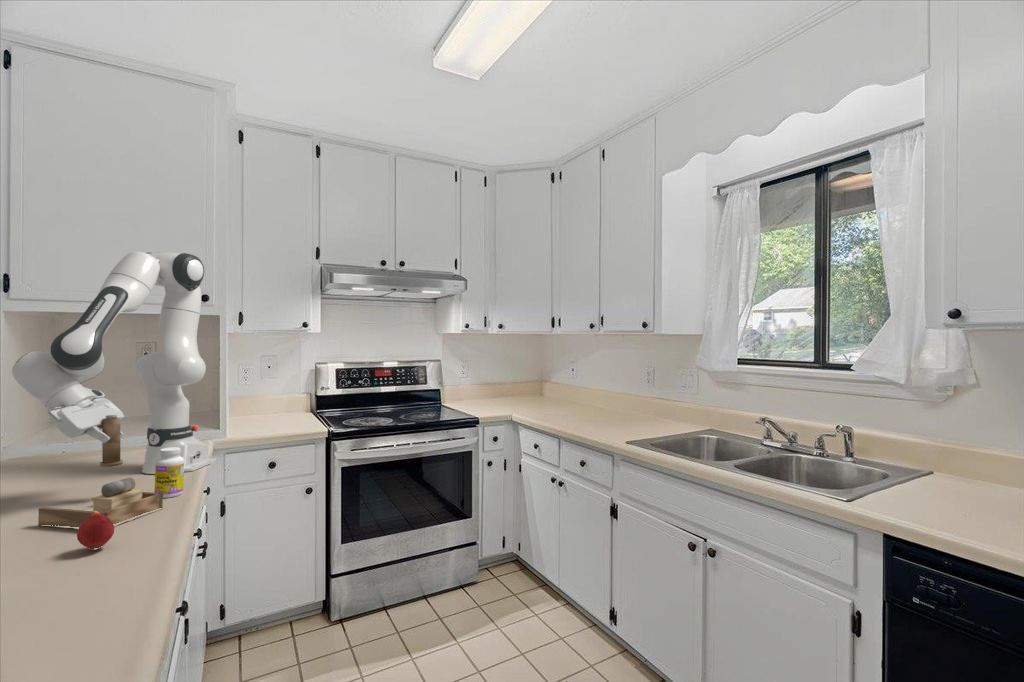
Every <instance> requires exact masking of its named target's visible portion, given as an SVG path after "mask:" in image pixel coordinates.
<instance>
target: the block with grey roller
mask: <svg viewBox="0 0 1024 682" xmlns="http://www.w3.org/2000/svg"><path fill="white" fill-rule="evenodd" d="M135 487H136V481H135V479H134V478H133V477H127V478H124V479H123V478H122V479H120V480H116V481H113V482H109V483H105V484H103V486H102V487H101V494H99V495H95V496H93V497H91V501H93V503H92V507H93V511H98V512H105V511H108V510H111V509H114V508H117V507H120V506H123V505H126V504H129V503H131V502H134V501H137V500H140V499H142V492H145V491H144V490H145V489H144V488H135ZM102 494H103V495H102Z"/></svg>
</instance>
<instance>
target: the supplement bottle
mask: <svg viewBox="0 0 1024 682" xmlns="http://www.w3.org/2000/svg"><path fill="white" fill-rule="evenodd" d="M180 452H181V449H180V448H179V447H170V448H163V449H161V450H160V454H161V458H159V459H158V460H157V461H156V464H155V474H154V491H153V493H163V499H169V498H174V497H177V496H180V495H182V494H183V492H184V482H185V481H184V480H185V472H184V459H183V458H182V457H180V456H179V454H180Z"/></svg>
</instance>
